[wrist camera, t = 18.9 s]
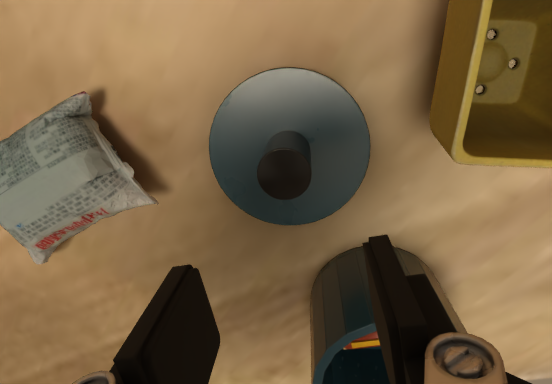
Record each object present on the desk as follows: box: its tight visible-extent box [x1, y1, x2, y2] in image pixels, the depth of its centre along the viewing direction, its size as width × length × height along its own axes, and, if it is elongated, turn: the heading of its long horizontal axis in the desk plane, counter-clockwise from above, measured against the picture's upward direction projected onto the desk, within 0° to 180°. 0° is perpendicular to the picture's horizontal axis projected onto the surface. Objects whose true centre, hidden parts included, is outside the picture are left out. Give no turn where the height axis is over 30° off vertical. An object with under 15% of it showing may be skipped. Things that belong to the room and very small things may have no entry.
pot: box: [310, 247, 468, 384], centre depth 26 cm, size 10×10×8 cm
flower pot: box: [429, 0, 552, 168], centre depth 19 cm, size 9×9×9 cm
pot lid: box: [209, 67, 370, 225], centre depth 23 cm, size 11×11×6 cm
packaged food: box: [0, 91, 159, 264], centre depth 25 cm, size 9×12×5 cm
